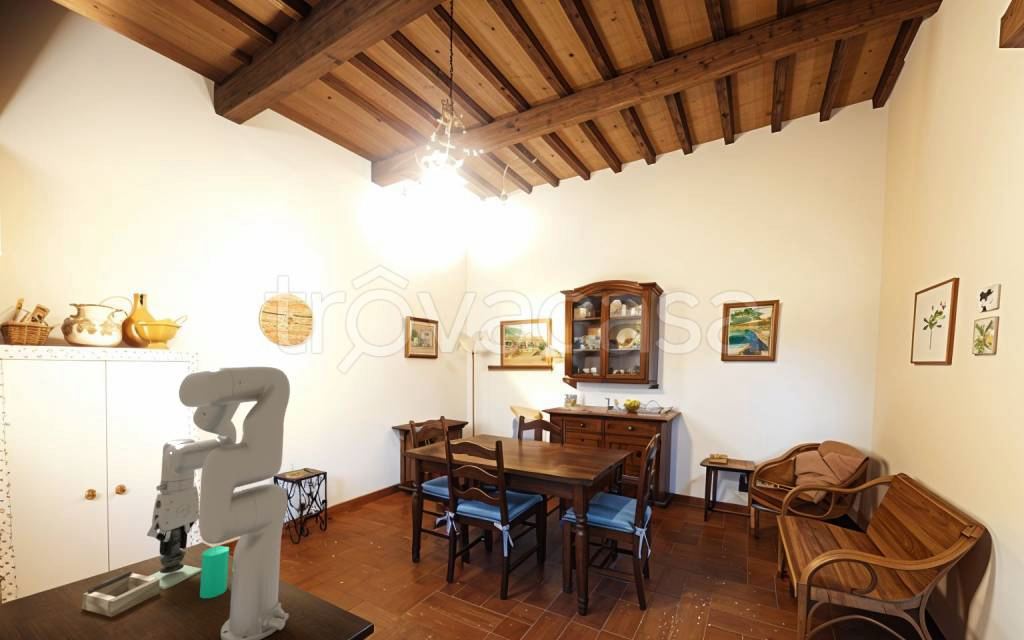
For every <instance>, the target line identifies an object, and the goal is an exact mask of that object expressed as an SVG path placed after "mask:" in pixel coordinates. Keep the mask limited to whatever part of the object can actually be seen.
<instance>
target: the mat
mask: <svg viewBox="0 0 1024 640" xmlns="http://www.w3.org/2000/svg"><path fill="white" fill-rule="evenodd" d="M183 565H184V567H183V568H182V569H180V570H178V571H175V572H172V573H160V570H158V571H157V572H155V573H153V574H150V575H147V576H148V577H153V578H157V579H160V586H159V589H162V590H166V589H169V588H171V587H173V586H175V585H177V584H179V583H181V582H182V581H183V582H184V581H185V580H186V579H190V578H191V577H192V576H194V575H197V574H199V573H201V568H202V567H195V566H190V565H186V564H183Z"/></svg>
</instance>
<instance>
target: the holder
mask: <svg viewBox="0 0 1024 640" xmlns="http://www.w3.org/2000/svg"><path fill="white" fill-rule="evenodd" d="M148 576H149V575H143V574H139V573H135V572H132V570H129V571H126V572H124V573H121V574H119V575H117V576H115V577H112V578H109V579H107V580H105V581H103V582H100V583H99V584H97V585H93V586H91V587H89V588H87V591H86V592H85V593H83V594H82V602H81V603H82V605H81V609H82V610H85V611H89V612H93V613H95V614H99V615H103V616H106V617H110V618H112V617H114V616H117V615H118V614H121V613H123V612H124V611H126V610H129V609H131V608H132V607H135V606H136V605H138V604H140V603H142V602H144V601H147V600H148V599H150V598H152V597H154V596H156V595H158V594H160V588H159V586H160V579H157V578H153V577H148Z"/></svg>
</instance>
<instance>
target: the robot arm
mask: <svg viewBox="0 0 1024 640" xmlns="http://www.w3.org/2000/svg"><path fill="white" fill-rule="evenodd" d="M290 394H291V385H290V381H289V378H288V376H287V374H286V373H285V372H284V371H283V370H281V369H279V368H276V367H271V366H244V367H243V366H241V367H239V366H238V367H237V366H236V367H215V368H207V369H203V370H199V371H193V372H191V373H189V374H187V375H186V376H185V377H184V378H183V380H182V381H181V384H180V386H179V389H178V398H179V401H180V403H182V405H184V407H188V408H196V410H195V411H194V413H193V417H192V420H193V424H194V425H195V426H196V427H197V428H198V429H199V430H202V431H204V432H207V433H210V434H215V435H218V436H217V437H216V438H213V439H205V440H200V441H196V440H195V439H192V438H179V439H178V438H177V439H174V440H169V441H166V443H164V445H163V447H162V457H161V458H162V459H161V473H160V474H161V475H160V484H159V485H157V486H156V492H157V491H159V492H158V493H157V495H156V498H155V501H154V506H153V511H152V518H151V519H152V521H151V527H150V528H149V530H148V532H147V534H146V536H147V537H150V538H155V539H156V540H157V541H159V555H160V556H162V555H164V556H169V555H170V554H171V540H169V539H170V534H171V530H173V529H176V528H178V527H179V528H180V529H181V534H180V539H182V541H180V550H184V549H187V543H188V534H189V533H190V532H191V528H192V527H193V526H194V525H195V523H196V522H197V521H198V528H199V533H200V537H201V538H202V540H203V541H204V542H205V543H207V544H210V545H217V544H221V543H224V542H227V541H230V540H234V539H236V538H239V539H238V540H237V543H236V544H235V547H234V550H233V559H232V573H231V587H230V589H231V591H230V610H229V618H228V619H227V620H226V621H225V622H224V624H222V626H221V628H220V638H221V640H262V639H265V638H266V637H268V636H270V635H272V634H273V633H274V632H276V631H277V630H279V631H281V630H283V628H285V625H286V621H287V620H288V619H289V617H290V615H289V613H287V612H285V611H284V610H283V609H282V603H281V602H278V601H279V584H280V583H279V581H280V566H281V565H280V563H281V562H280V561H281V546H282V545H281V544H282V534H283V526H284V522H285V518H286V514H287V511H288V503H289V502H288V501H289V500H288V494H287V492H286V490H285V489H284V488H283V487H282V486H281V485H279V484H276V483H275V484H274V483H265V484H262V485H256V486H253V487H250V488H246V489H242V490H238V491H235V489H236V488H240V487H244V486H247V485H252V484H255V483H259V482H263V481H266V480H270V479H272V478H274V477H275V476H277V475H278V474H279V473H280V471H281V468H282V462H283V450H284V431H285V430H284V427H285V426H284V423H285V415H286V411H287V409H288V405H289V400H290ZM248 402H249V403H250V402H252V403H253V402H256V403H255V404H254V405H253V406H252V407H251V408H250V410H249V411H248V413H247V414H246V416H245V418H244V419H243V423H242V434H241V440H240V442H238V443H237V437H238V436H237V429H236V426H235V424H234V422H233V421H232V420H233V418H234V416H235V414H236V412H237V410H238V408H239V407H240V405H241V403H248ZM200 469H201V475H200V492H199V490H198V488H197V485H195V471H196V470H200ZM234 491H235V492H234ZM199 493H200V494H199ZM199 495H200V496H199ZM158 530H159V532H158Z"/></svg>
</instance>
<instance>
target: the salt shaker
mask: <svg viewBox="0 0 1024 640" xmlns="http://www.w3.org/2000/svg"><path fill="white" fill-rule="evenodd" d="M180 534H181V529H180V528H179V527H178V528H176V529H173V530H171V534H170V539H169V540H171V554H170V555H169V556H164V555H160V557H159V558H158V559H159V561H160V564H161V566H162V568H161V569H160V570H159V571H160V573H172V572H175V571H178V570H180V569H182V568H183V567H184V565H185V564H183V563H181V562H182V561H183V560H184V558H185V555H186V554H187V552H186V551H185V550H184V549H180V541H182V539H180Z"/></svg>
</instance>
